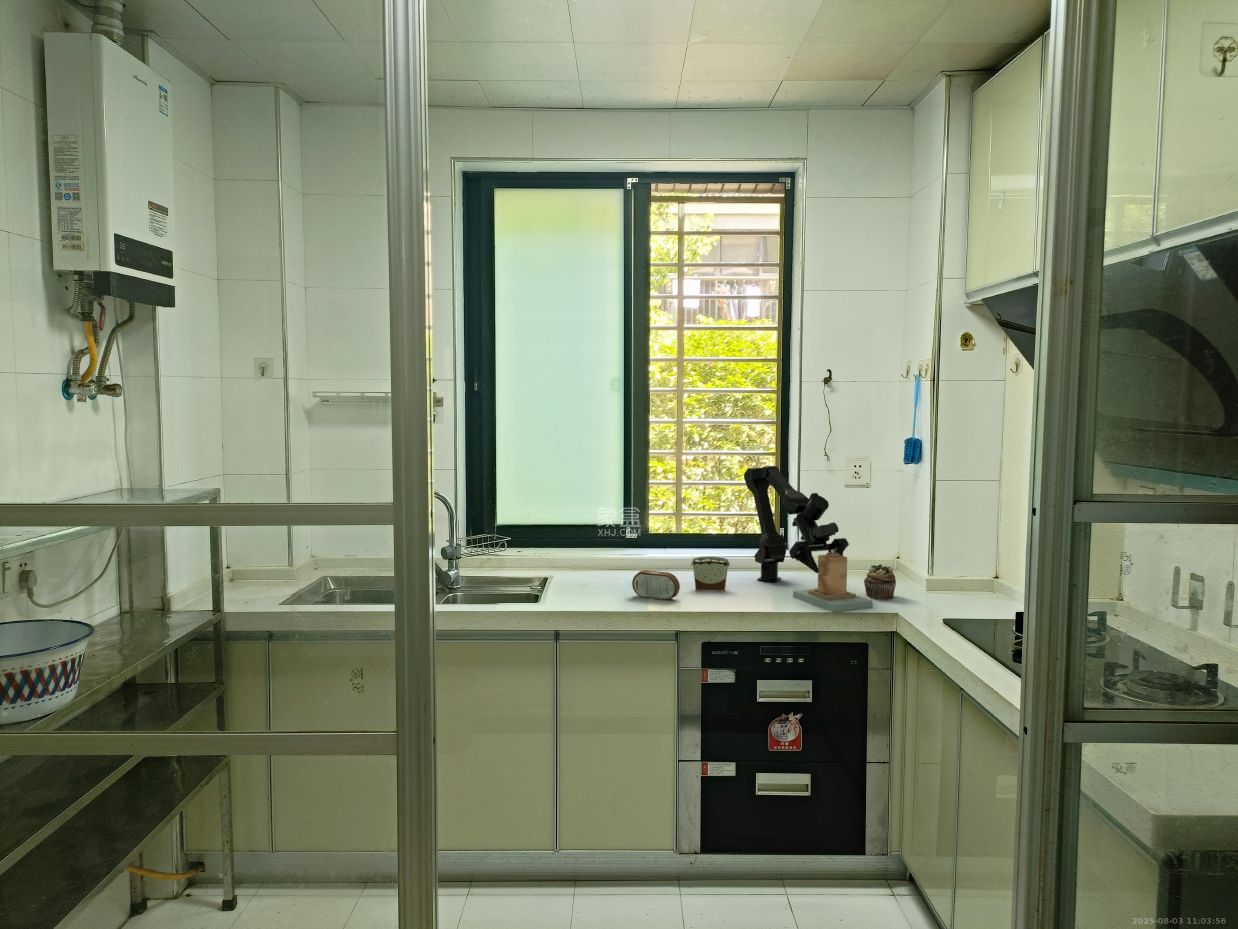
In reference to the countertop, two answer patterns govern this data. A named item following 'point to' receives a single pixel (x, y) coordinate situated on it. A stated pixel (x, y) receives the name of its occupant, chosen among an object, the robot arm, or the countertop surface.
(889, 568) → the cupcake
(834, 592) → the terracotta block
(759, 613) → the countertop surface
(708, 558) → the food container
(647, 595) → the tin
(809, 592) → the base slab
